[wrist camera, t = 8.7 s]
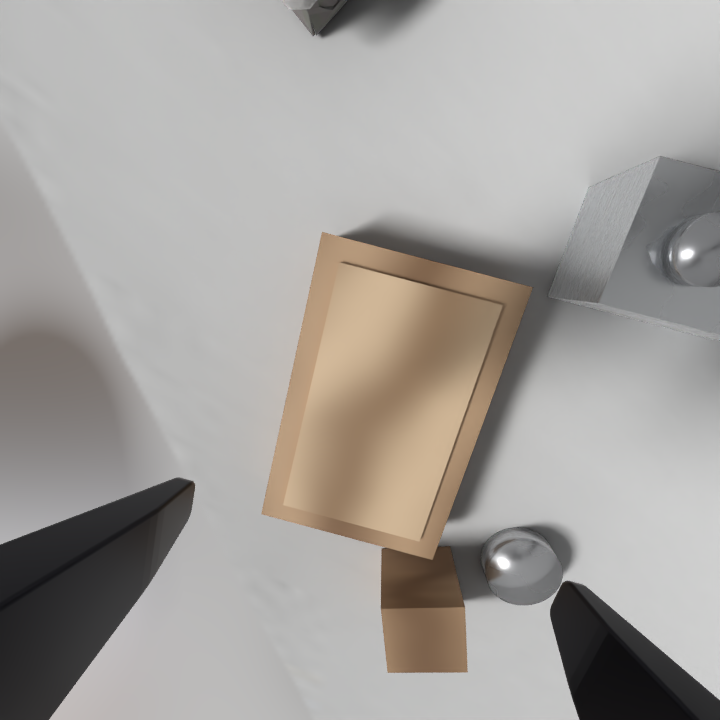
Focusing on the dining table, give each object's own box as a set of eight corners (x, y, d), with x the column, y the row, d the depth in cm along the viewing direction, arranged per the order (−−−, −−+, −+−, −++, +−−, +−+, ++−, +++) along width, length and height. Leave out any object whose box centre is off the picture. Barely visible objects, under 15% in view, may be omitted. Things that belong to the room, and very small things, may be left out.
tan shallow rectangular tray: (511, 285, 17) (535, 287, 14) (426, 526, 20) (432, 562, 18) (330, 238, 17) (321, 231, 14) (276, 485, 20) (259, 516, 18)
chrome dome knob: (560, 534, 20) (574, 555, 19) (535, 589, 21) (546, 612, 20) (492, 517, 20) (501, 536, 19) (470, 572, 21) (477, 595, 20)
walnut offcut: (449, 545, 21) (464, 607, 17) (452, 601, 22) (467, 672, 18) (381, 547, 21) (380, 608, 17) (387, 602, 22) (387, 672, 18)
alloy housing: (758, 232, 16) (932, 212, 11) (705, 338, 17) (839, 364, 12) (586, 188, 16) (679, 147, 11) (545, 296, 17) (612, 304, 12)
